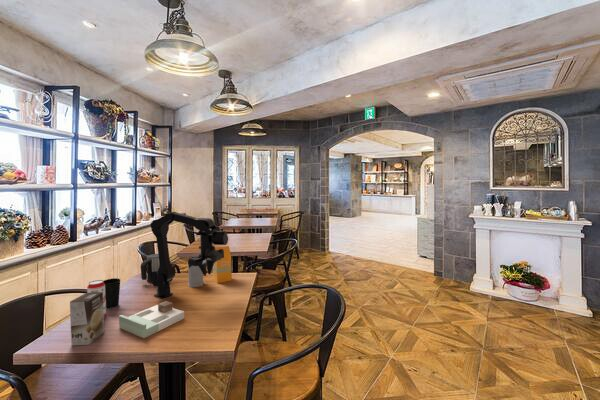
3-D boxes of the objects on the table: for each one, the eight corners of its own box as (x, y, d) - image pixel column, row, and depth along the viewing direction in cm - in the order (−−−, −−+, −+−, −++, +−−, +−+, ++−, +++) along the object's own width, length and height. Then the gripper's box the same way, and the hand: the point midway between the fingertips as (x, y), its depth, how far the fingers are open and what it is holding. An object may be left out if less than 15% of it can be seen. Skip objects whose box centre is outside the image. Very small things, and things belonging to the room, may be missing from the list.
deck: (119, 327, 115) (118, 315, 115) (159, 310, 131) (159, 299, 130) (144, 338, 107) (143, 325, 107) (184, 318, 123) (183, 306, 123)
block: (158, 311, 123) (158, 304, 123) (166, 307, 127) (166, 300, 127) (164, 313, 121) (164, 306, 121) (172, 309, 125) (172, 302, 125)
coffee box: (89, 345, 103) (87, 301, 102) (70, 345, 102) (68, 302, 101) (105, 331, 112) (103, 291, 111) (87, 332, 111) (85, 292, 110)
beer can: (87, 323, 118) (85, 285, 117) (90, 317, 124) (88, 280, 123) (105, 320, 121) (103, 283, 120) (107, 314, 127) (105, 278, 126)
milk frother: (152, 277, 176) (152, 253, 175) (177, 277, 175) (177, 253, 174) (138, 285, 162) (137, 259, 161) (165, 286, 161) (164, 260, 160)
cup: (111, 310, 131) (110, 284, 130) (97, 308, 132) (96, 283, 131) (125, 303, 138) (124, 278, 137) (111, 301, 140) (110, 277, 139)
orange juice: (231, 280, 171) (231, 247, 169) (217, 283, 166) (216, 249, 164) (227, 276, 177) (226, 244, 176) (212, 279, 172) (212, 246, 171)
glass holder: (187, 288, 158) (187, 261, 157) (187, 279, 171) (187, 255, 170) (204, 286, 161) (203, 259, 160) (203, 278, 175) (202, 253, 174)
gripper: (203, 249, 130) (204, 283, 131) (231, 242, 147) (232, 272, 148) (186, 247, 136) (187, 279, 137) (215, 240, 152) (216, 269, 153)
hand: (207, 275), depth 143 cm, fingers open, 3 cm apart
